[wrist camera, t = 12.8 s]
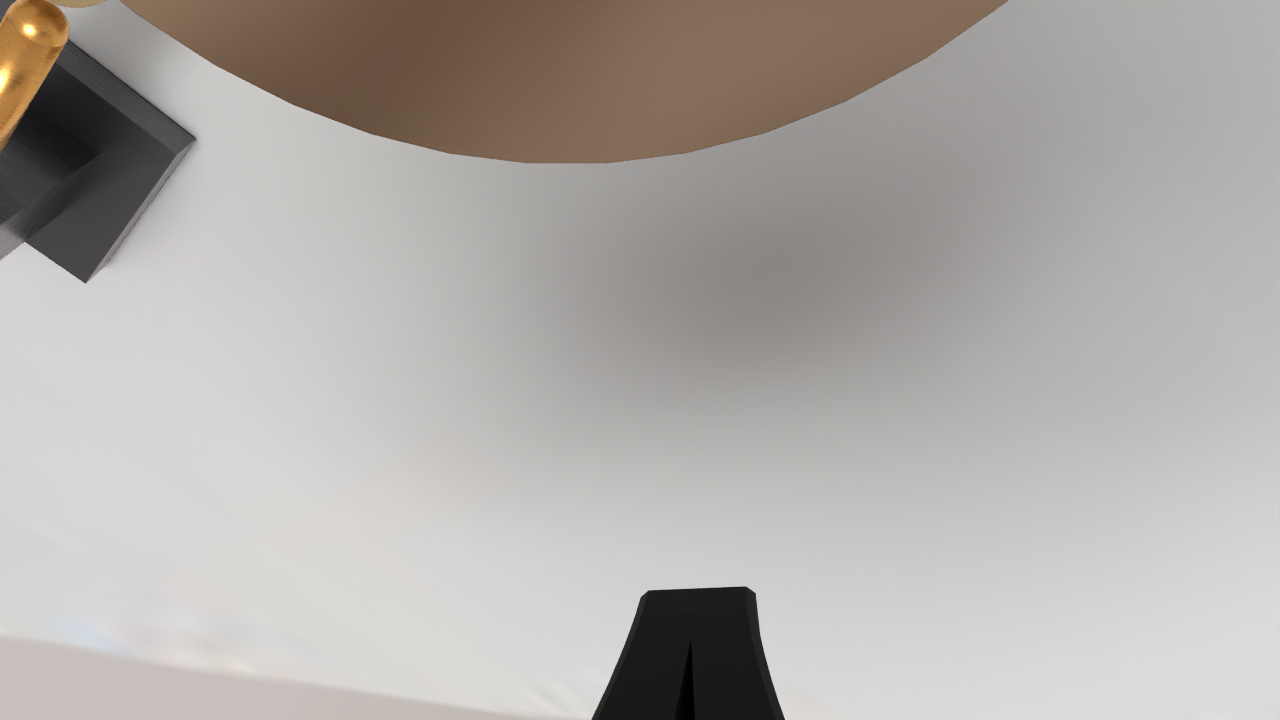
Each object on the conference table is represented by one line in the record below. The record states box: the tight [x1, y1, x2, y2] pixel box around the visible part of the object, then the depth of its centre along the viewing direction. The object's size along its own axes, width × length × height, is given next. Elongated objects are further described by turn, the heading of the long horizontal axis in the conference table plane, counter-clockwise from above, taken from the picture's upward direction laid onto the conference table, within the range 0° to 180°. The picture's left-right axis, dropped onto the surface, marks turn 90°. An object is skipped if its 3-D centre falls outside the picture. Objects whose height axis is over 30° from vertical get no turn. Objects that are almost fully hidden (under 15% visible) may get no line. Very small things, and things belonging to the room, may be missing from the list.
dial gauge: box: [0, 0, 196, 284], centre depth 17 cm, size 7×4×6 cm, turn 137°
